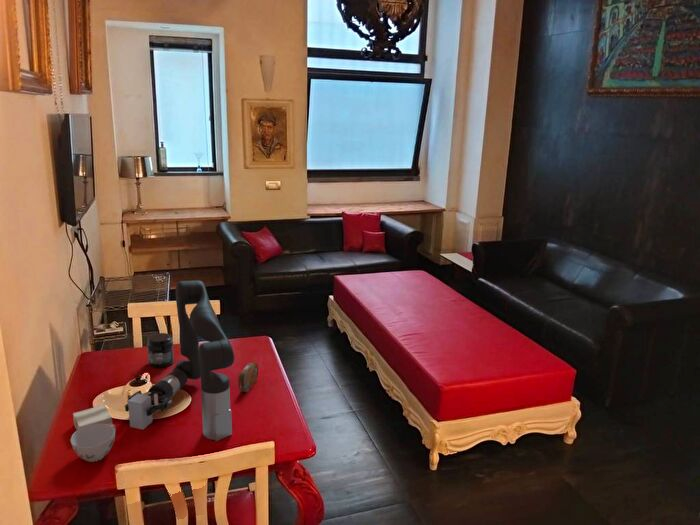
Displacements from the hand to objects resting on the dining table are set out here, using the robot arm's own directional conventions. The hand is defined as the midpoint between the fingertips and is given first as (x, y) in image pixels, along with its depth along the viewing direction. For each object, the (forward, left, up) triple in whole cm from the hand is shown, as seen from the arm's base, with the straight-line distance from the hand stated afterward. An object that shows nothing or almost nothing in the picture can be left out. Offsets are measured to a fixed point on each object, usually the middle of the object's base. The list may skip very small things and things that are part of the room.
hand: (136, 411), depth 183 cm
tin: (-1, -45, -6) cm, 45 cm away
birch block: (+9, +11, -6) cm, 16 cm away
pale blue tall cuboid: (+1, -2, -6) cm, 6 cm away
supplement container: (+40, -28, -6) cm, 49 cm away
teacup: (-7, +16, -6) cm, 18 cm away
